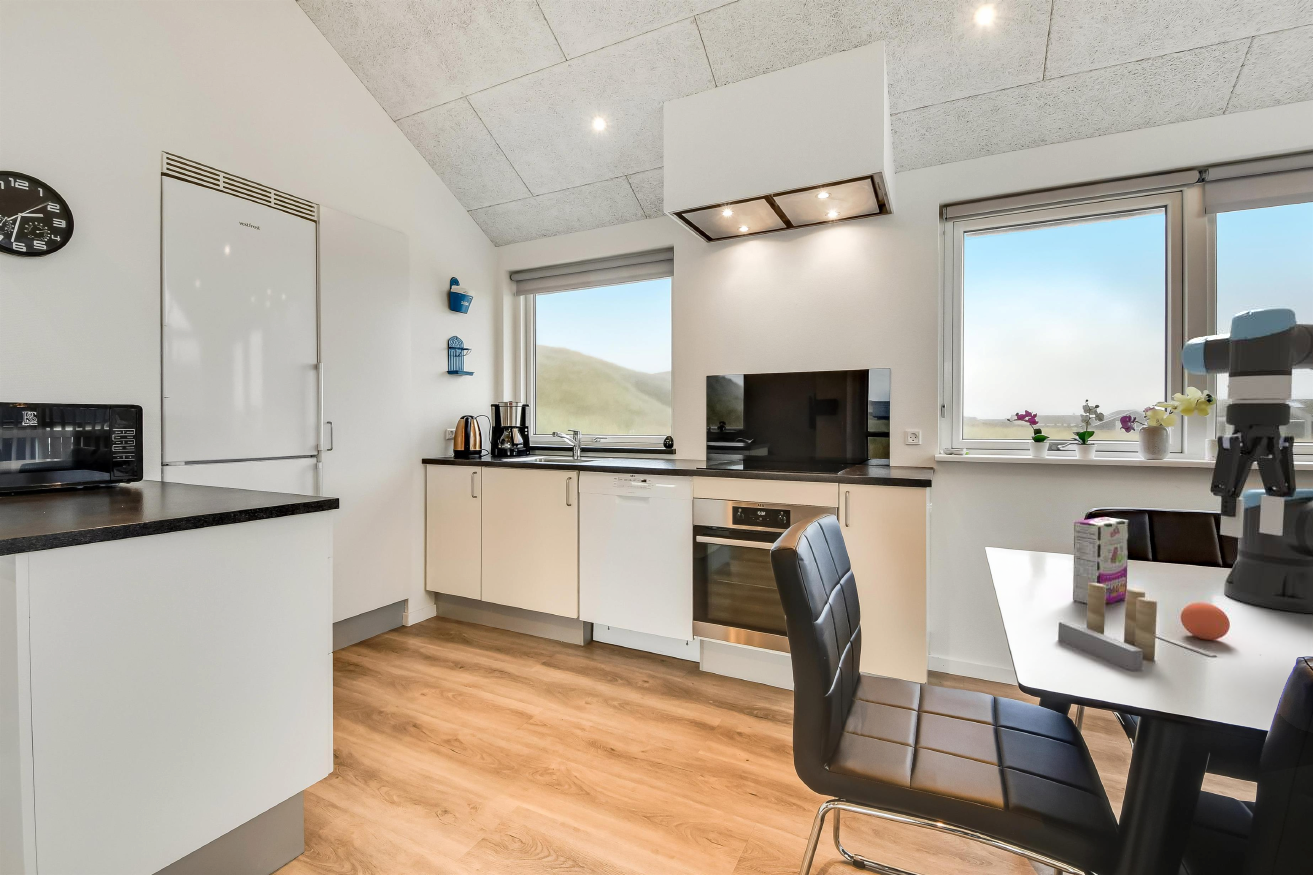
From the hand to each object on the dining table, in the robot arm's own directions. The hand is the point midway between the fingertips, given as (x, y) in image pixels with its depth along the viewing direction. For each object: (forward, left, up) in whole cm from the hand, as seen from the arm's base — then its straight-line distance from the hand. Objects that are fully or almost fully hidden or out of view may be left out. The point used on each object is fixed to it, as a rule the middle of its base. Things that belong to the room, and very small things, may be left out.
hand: (1251, 534), depth 98 cm
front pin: (+25, 0, -17) cm, 30 cm away
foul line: (+17, 0, -17) cm, 24 cm away
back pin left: (+28, +4, -17) cm, 33 cm away
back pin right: (+28, -4, -17) cm, 33 cm away
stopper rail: (+34, +1, -17) cm, 38 cm away
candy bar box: (+8, -20, -18) cm, 28 cm away
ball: (+10, 0, -14) cm, 17 cm away
